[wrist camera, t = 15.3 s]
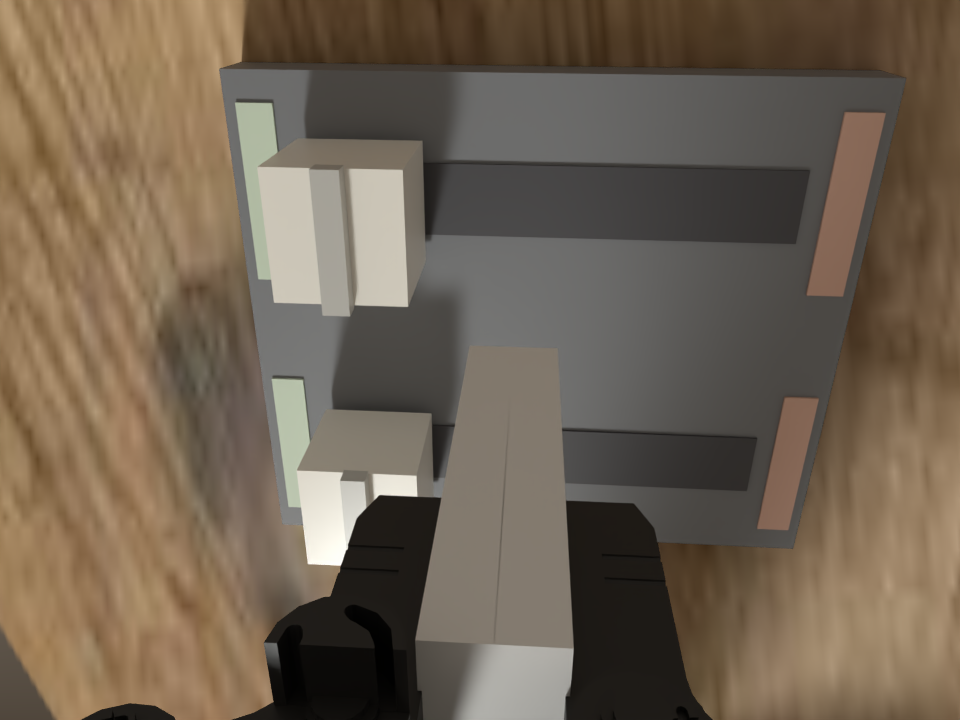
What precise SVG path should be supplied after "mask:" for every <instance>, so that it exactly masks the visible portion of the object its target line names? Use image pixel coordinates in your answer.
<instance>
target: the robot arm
mask: <svg viewBox="0 0 960 720" xmlns="http://www.w3.org/2000/svg"><path fill="white" fill-rule="evenodd" d="M264 647H265V653H266V659H267V665H268V671H269V677H270V683H271V689H272V695H273V701H274V702H273V703H271V704H269V705H267V706H266V707H264V708H262V709H260V710H258V711H256V712H254V713H252V714H248V715H245V716H242V717H239V718H236V719H233V720H712V719H711V718H710V717H709V716H708V715H707V714H706V713H705V712H704V710H703V708H702V706H701V705H700V704H699V703H698V702H697V700H696V699H695V697H694V696H693V694H692V692H691V690H690V687H689V684H688V681H687V678H686V675H685V670H684V665H683V660H682V656H681V651H680V646H679V642H678V637H677V632H676V627H675V623H674V618H673V613H672V609H671V604H670V599H669V594H668V590H667V586H666V585H665V576H664V571H663V566H662V562H660V552H659V547H658V543H657V538H656V533H655V528H654V527H653V526H652V525H651V523H650V522H649V521H648V520H647V519H646V517H645V516H644V515H643V514H642V512H641V511H640V510H639V509H638V508H637V506H636V505H635V504H634V503H613V502H590V501H566V496H565V477H564V458H563V440H562V421H561V403H560V384H559V365H558V348H531V347H499V346H470V347H469V352H468V358H467V363H466V368H465V374H464V379H463V385H462V390H461V395H460V401H459V406H458V412H457V417H456V422H455V428H454V433H453V439H452V444H451V449H450V455H449V460H448V466H447V471H446V476H445V482H444V487H443V493H442V498H438V497H414V496H391V495H379V496H378V497H377V498H376V499H375V500H374V501H373V502H372V503H371V504H370V505H369V506H368V507H367V508H366V509H365V510H364V511H363V512H362V513H361V514H360V515H359V516H358V517H357V519H356V522H355V525H354V528H353V531H352V534H351V537H350V540H349V543H348V550H346V552H345V555H344V558H343V561H342V564H341V567H340V573H338V576H337V579H336V582H335V585H334V588H333V591H332V594H331V596H330V597H323V598H320V599H318V600H315V601H312V602H310V603H307V604H304V605H302V606H299V607H297V608H296V609H295V610H293V611H292V612H291V613H289V614H288V615H287V616H285V617H284V618H283V619H281V620H280V621H279V622H277V624H276V625H275V627H274V628H273V630H272V631H271V633H270V634H269V636H268V637H267V639H266V640H265V642H264ZM82 720H175V718H174V717H173V716H172V715H170V714H168V713H167V712H165V711H163V710H161V709H160V708H158V707H156V706H152V705H141V704H131V703H129V704H125V705H120V706H116V707H111V708H106V709H102V710H99V711H97V712H95V713H94V714H92V715H90V716H88V717H86V718H84V719H82Z"/></svg>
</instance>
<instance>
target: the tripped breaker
mask: <svg viewBox="0 0 960 720" xmlns="http://www.w3.org/2000/svg"><path fill="white" fill-rule="evenodd" d="M257 170H258V178H259V186H260V194H261V202H262V210H263V218H264V226H265V235H266V243H267V251H268V259H269V267H270V275H271V283H272V291H273V299H274V303H299V304H322V315H323V316H351V314H352V312H353V310H354V305H363V306H395V307H408V306H409V303H410V301H411V298H412V296H413V293H414V290H415V288H416V285H417V283H418V280H419V277H420V275H421V272H422V270H423V267H424V264H425V262H426V249H425V214H424V178H423V142H422V141H414V140H360V139H307V138H298V139H296V140H295V141H293V142H292V143H290V144H289V145H288V146H286V147H285V148H283V149H282V150H280V151H279V152H278V153H276V154H275V155H273V156H272V157H270V158H269V159H268V160H266V161H265V162H263V163H262V164H260V165H259V166H258V167H257Z"/></svg>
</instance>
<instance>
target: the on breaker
mask: <svg viewBox="0 0 960 720" xmlns="http://www.w3.org/2000/svg"><path fill="white" fill-rule="evenodd" d="M297 478H298V486H299V494H300V503H301V511H302V519H303V527H304V535H305V543H306V551H307V559H308V564H320V565H340V566H341V564H342V561H343V558H344V555H345V552H346V550H348V543H349V540H350V537H351V534H352V531H353V528H354V525H355V522H356V519H357V517H358V516H359V515H360V514H361V513H362V512H363V511H364V510H365V509H366V508H367V507H368V506H369V505H370V504H371V503H372V502H373V501H374V500H375V499H376V498H377V497H378V496H379V495H391V496H414V497H434V487H433V449H432V413H409V412H384V411H358V410H333V409H326V411H325V413H324V415H323V417H322V419H321V421H320V423H319V425H318V427H317V429H316V431H315V433H314V435H313V437H312V440H311V442H310V444H309V446H308V448H307V450H306V452H305V454H304V456H303V458H302V460H301V462H300V464H299V466H298V469H297Z"/></svg>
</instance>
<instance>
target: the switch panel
mask: <svg viewBox="0 0 960 720" xmlns="http://www.w3.org/2000/svg"><path fill="white" fill-rule="evenodd" d="M219 71H220V78H221V85H222V92H223V100H224V107H225V114H226V121H227V128H228V136H229V143H230V150H231V157H232V164H233V172H234V179H235V186H236V193H237V200H238V208H239V215H240V222H241V229H242V236H243V244H244V251H245V258H246V265H247V272H248V280H249V287H250V294H251V301H252V308H253V316H254V323H255V330H256V337H257V344H258V352H259V359H260V366H261V373H262V380H263V388H264V395H265V402H266V409H267V416H268V424H269V431H270V438H271V445H272V452H273V460H274V467H275V474H276V481H277V488H278V496H279V503H280V510H281V517H282V524H288V525H303V519H302V511H301V503H300V494H299V486H298V478H297V469H298V466H299V464H300V462H301V460H302V458H303V456H304V454H305V452H306V450H307V448H308V446H309V444H310V442H311V440H312V437H313V435H314V433H315V431H316V429H317V427H318V425H319V423H320V421H321V419H322V417H323V415H324V413H325V411H326V409H333V410H358V411H384V412H409V413H432V449H433V487H434V497H438V498H442V493H443V487H444V482H445V476H446V471H447V466H448V460H449V455H450V449H451V444H452V439H453V433H454V428H455V422H456V417H457V412H458V406H459V401H460V395H461V390H462V385H463V379H464V374H465V368H466V363H467V358H468V352H469V347H470V346H499V347H531V348H558V365H559V384H560V403H561V421H562V440H563V458H564V477H565V496H566V501H590V502H613V503H634V504H635V505H636V506H637V508H638V509H639V510H640V511H641V512H642V514H643V515H644V516H645V517H646V519H647V520H648V521H649V522H650V523H651V525H652V526H653V527H654V528H655V533H656V538H657V542H663V543H684V544H704V545H725V546H746V547H767V548H788V549H793V547H794V543H795V538H796V534H797V530H798V526H799V522H800V518H801V513H802V509H803V505H804V501H805V497H806V493H807V489H808V484H809V480H810V476H811V472H812V468H813V464H814V460H815V455H816V451H817V447H818V443H819V439H820V435H821V431H822V426H823V422H824V418H825V414H826V410H827V406H828V401H829V397H830V393H831V389H832V385H833V381H834V377H835V372H836V368H837V364H838V360H839V356H840V352H841V348H842V343H843V339H844V335H845V331H846V327H847V323H848V319H849V314H850V310H851V306H852V302H853V298H854V294H855V289H856V285H857V281H858V277H859V273H860V269H861V265H862V260H863V256H864V252H865V248H866V244H867V240H868V236H869V231H870V227H871V223H872V219H873V215H874V211H875V207H876V202H877V198H878V194H879V190H880V186H881V182H882V178H883V173H884V169H885V165H886V161H887V157H888V153H889V148H890V144H891V140H892V136H893V132H894V128H895V124H896V119H897V115H898V111H899V107H900V103H901V99H902V95H903V90H904V86H905V82H906V78H904V77H901V76H898V75H894V74H891V73H887V72H884V71H881V70H815V69H738V68H661V67H583V66H506V65H429V64H352V63H275V62H240V63H236V64H233V65H230V66H227V67H224V68H220V69H219ZM298 138H307V139H360V140H414V141H422V142H423V178H424V214H425V249H426V262H425V264H424V267H423V270H422V272H421V275H420V277H419V280H418V283H417V285H416V288H415V290H414V293H413V296H412V298H411V301H410V303H409V306H408V307H395V306H363V305H354V310H353V312H352V314H351V316H323V315H322V304H299V303H274V299H273V291H272V283H271V275H270V267H269V259H268V251H267V243H266V235H265V226H264V218H263V210H262V202H261V194H260V186H259V178H258V170H257V167H258V166H259V165H260V164H262V163H263V162H265V161H266V160H268V159H269V158H270V157H272V156H273V155H275V154H276V153H278V152H279V151H280V150H282V149H283V148H285V147H286V146H288V145H289V144H290V143H292V142H293V141H295V140H296V139H298Z"/></svg>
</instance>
